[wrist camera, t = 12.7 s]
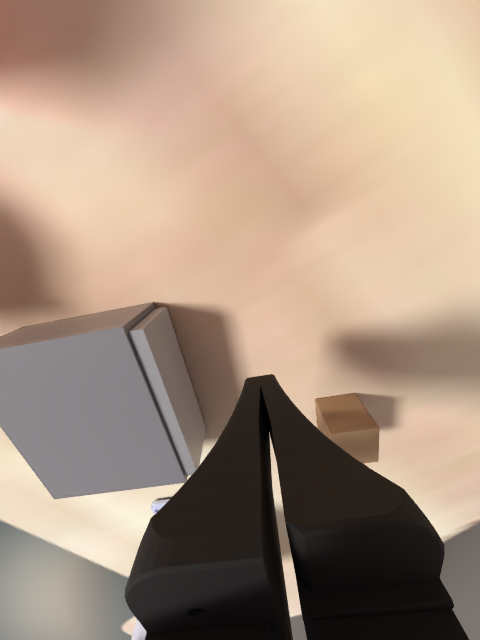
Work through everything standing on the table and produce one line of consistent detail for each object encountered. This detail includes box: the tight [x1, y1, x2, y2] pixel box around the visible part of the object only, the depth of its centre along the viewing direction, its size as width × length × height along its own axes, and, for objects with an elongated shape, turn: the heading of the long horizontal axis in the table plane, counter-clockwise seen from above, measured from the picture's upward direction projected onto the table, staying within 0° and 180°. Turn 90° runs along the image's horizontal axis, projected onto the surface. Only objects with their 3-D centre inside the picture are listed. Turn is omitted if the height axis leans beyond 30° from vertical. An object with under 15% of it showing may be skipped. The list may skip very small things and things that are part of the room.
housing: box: [0, 302, 188, 499], centre depth 16 cm, size 12×10×4 cm
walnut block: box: [315, 393, 379, 463], centre depth 17 cm, size 3×3×4 cm
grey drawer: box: [129, 306, 206, 476], centre depth 16 cm, size 11×10×4 cm
